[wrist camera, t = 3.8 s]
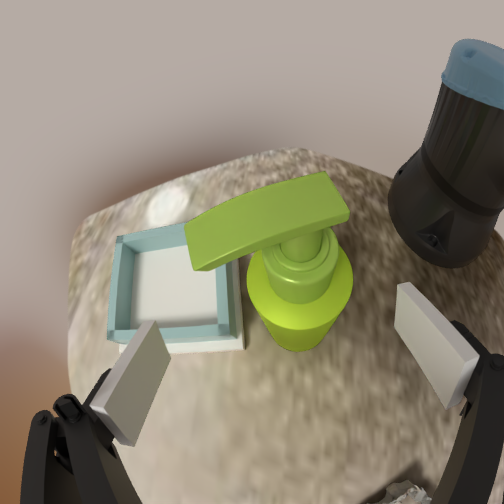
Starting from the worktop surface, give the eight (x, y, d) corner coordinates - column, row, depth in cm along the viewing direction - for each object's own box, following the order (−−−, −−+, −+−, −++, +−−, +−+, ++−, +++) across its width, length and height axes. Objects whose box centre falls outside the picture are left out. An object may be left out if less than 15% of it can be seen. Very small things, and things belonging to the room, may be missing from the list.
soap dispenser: (251, 309, 28) (171, 177, 10) (315, 286, 28) (336, 125, 10) (269, 363, 25) (202, 328, 7) (336, 338, 25) (421, 245, 7)
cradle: (235, 227, 32) (227, 207, 28) (245, 349, 26) (236, 345, 22) (131, 245, 34) (115, 229, 30) (125, 354, 27) (103, 349, 24)
